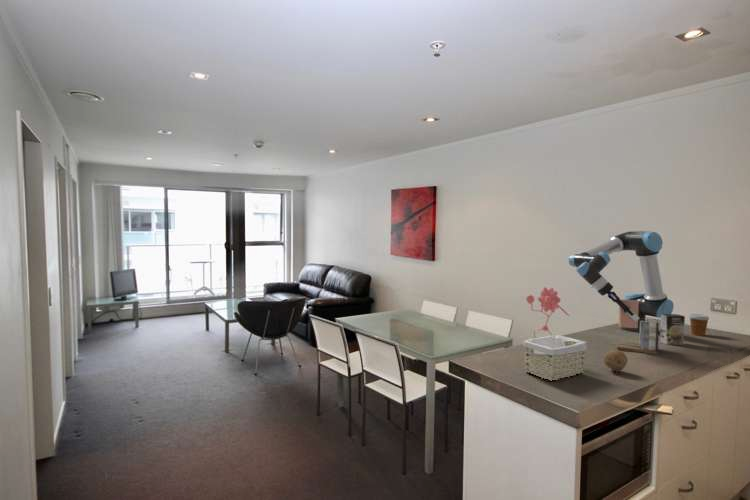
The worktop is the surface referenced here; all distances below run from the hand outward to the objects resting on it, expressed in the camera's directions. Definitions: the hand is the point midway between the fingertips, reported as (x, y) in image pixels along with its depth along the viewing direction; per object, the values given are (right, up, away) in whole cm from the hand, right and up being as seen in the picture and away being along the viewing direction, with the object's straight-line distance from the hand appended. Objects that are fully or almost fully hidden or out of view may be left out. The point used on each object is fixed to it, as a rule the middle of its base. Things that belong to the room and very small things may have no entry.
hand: (636, 318), depth 217 cm
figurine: (-52, -17, -12) cm, 56 cm away
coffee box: (+28, -16, +12) cm, 34 cm away
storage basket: (-59, -19, -36) cm, 72 cm away
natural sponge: (-31, -18, -34) cm, 50 cm away
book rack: (0, -16, +1) cm, 17 cm away
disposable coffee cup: (+57, -15, +31) cm, 67 cm away
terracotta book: (-3, -5, +2) cm, 6 cm away
